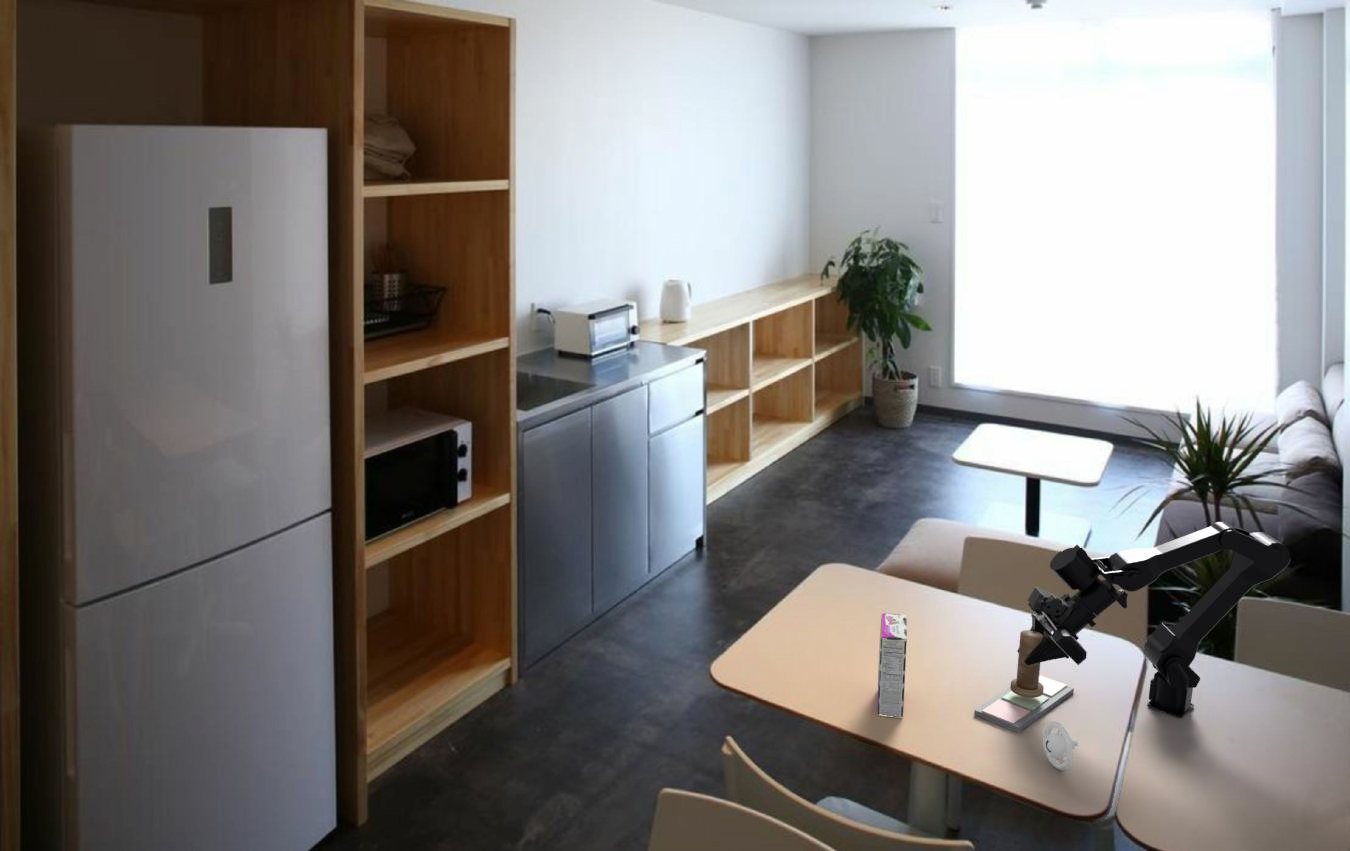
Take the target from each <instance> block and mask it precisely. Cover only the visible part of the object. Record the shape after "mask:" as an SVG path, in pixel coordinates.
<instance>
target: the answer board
mask: <svg viewBox="0 0 1350 851" xmlns="http://www.w3.org/2000/svg"><path fill="white" fill-rule="evenodd" d="M1039 682H1040V683H1041V684H1042V685H1043V687H1044V690H1043V694H1042V695H1041V696H1039V697H1034V698H1030V697H1023V696H1020V695H1017V694H1015V693H1014V692H1012V691H1011V689H1010V686H1009V687H1008V688H1006V689H1005V690H1003V691H1001V692H999V693H998V694H997V695H996V696H994V697H992V698H991V699H989V700H988V701H986V702H985V703H983V704H982V705H980V706H979V707H977V708H976V709H975V710H974V713H973V714H975V715H974V716H976V717H978V716H979V717H978V718H981V719H984V720H986V721H989V722H991V723H994V724H997V725H998V726H1000V727H1003V728H1006V729H1008V730H1011V731H1014V732H1016V733H1021V731H1023V730H1025V729H1026V728H1027V727H1029V726H1030V725H1031V724H1033V723H1034V722H1035V721H1037V720H1039V718H1040V717H1042V716H1043V715H1045V714H1046V713H1048V712H1049V711H1050V710H1053V708H1054V707H1057V705H1059V704H1060V703H1061V702H1063V701H1064V700H1067V698H1068V697H1070V696H1071V695H1072V694H1073V693H1074V689H1075V688H1074V687H1072V686H1069V685H1067V684H1065V683H1062V682H1060V681H1056V680H1054V679H1052V678H1049V677H1046V676H1042V675H1041V674H1039Z"/></svg>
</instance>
